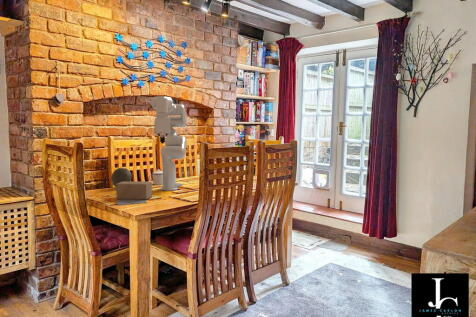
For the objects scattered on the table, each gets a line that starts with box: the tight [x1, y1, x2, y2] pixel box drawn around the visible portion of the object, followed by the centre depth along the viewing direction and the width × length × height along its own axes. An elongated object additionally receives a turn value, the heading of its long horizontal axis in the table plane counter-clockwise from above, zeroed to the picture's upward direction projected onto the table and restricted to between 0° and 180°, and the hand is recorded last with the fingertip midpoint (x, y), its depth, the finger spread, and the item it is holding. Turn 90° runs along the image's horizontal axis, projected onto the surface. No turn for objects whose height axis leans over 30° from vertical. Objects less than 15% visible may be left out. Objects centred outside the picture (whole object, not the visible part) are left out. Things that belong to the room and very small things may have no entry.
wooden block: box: [115, 181, 153, 200], centre depth 230 cm, size 10×10×20 cm
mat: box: [115, 199, 148, 206], centre depth 221 cm, size 17×14×1 cm
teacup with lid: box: [148, 168, 163, 186], centre depth 281 cm, size 12×9×12 cm
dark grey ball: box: [110, 167, 133, 188], centre depth 265 cm, size 14×14×15 cm
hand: (162, 143), depth 236 cm, fingers closed
